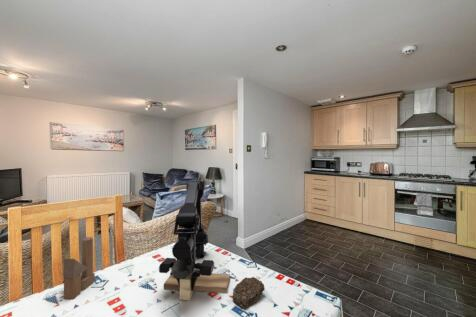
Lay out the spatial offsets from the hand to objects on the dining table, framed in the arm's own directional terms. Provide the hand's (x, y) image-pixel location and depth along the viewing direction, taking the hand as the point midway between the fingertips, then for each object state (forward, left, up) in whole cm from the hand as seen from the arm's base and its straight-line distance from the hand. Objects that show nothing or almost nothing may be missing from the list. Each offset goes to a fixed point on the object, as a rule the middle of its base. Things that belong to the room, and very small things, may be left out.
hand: (187, 290), depth 74 cm
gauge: (-4, 0, -2) cm, 5 cm away
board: (-7, +2, -2) cm, 8 cm away
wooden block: (+1, -41, -2) cm, 41 cm away
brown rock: (-2, +22, -2) cm, 22 cm away
